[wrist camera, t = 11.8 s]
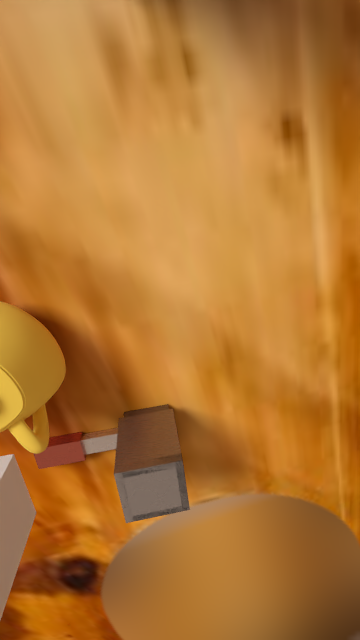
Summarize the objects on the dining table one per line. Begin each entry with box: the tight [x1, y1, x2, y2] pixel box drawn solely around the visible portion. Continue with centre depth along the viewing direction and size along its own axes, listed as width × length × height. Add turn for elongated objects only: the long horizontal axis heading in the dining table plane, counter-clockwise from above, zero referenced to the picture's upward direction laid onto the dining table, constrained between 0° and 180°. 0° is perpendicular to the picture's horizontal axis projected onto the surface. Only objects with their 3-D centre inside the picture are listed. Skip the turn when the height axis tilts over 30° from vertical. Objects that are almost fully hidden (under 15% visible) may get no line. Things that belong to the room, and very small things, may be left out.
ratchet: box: [34, 404, 169, 469], centre depth 39 cm, size 7×18×6 cm, turn 97°
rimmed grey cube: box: [114, 409, 190, 523], centre depth 37 cm, size 7×7×9 cm
